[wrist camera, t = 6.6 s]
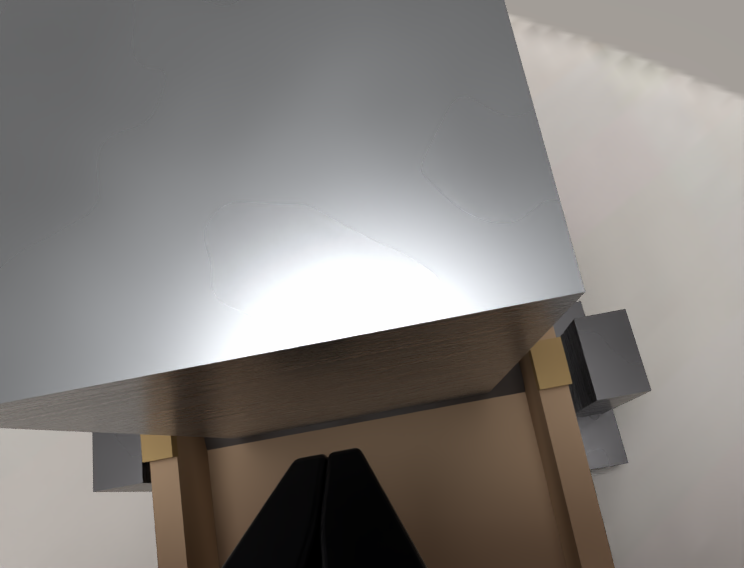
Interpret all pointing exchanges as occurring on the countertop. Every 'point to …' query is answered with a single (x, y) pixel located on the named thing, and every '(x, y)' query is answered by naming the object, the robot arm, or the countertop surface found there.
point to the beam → (411, 476)
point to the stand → (588, 389)
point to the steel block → (266, 212)
